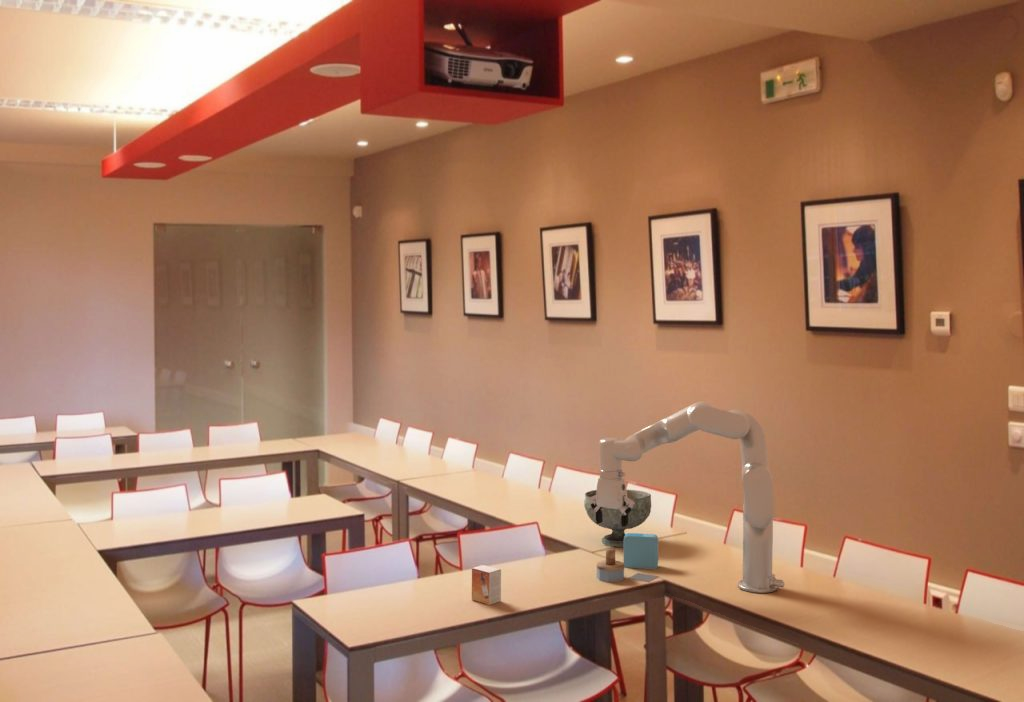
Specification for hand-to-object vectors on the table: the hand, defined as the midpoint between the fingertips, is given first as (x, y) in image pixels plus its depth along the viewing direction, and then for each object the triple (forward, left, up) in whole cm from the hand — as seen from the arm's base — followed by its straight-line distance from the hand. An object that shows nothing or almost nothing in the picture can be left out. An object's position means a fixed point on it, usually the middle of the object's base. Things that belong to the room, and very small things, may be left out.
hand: (611, 524), depth 334 cm
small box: (+22, +42, -20) cm, 52 cm away
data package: (-2, -19, -20) cm, 27 cm away
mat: (-9, -7, -19) cm, 22 cm away
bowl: (0, 0, -19) cm, 19 cm away
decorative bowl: (+22, -46, -19) cm, 55 cm away
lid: (0, 0, -15) cm, 15 cm away
